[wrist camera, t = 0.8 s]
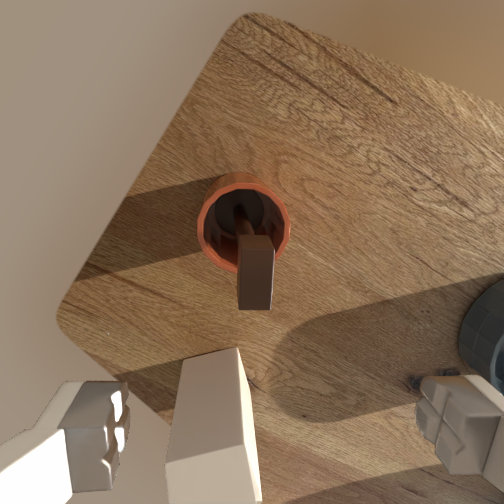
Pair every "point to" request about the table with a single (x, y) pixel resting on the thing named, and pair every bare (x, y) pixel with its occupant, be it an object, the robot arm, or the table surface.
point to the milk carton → (213, 434)
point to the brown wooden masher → (248, 247)
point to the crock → (225, 245)
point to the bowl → (485, 337)
